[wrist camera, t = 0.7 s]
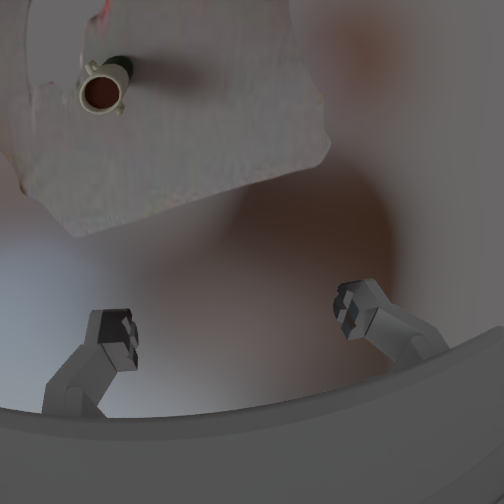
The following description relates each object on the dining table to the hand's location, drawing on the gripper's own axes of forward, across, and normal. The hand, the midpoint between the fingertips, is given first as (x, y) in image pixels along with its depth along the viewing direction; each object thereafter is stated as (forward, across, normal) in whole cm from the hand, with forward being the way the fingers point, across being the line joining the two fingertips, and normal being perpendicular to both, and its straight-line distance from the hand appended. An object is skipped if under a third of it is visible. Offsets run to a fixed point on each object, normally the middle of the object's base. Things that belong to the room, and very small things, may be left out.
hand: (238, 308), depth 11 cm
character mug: (+51, +14, -8) cm, 54 cm away
